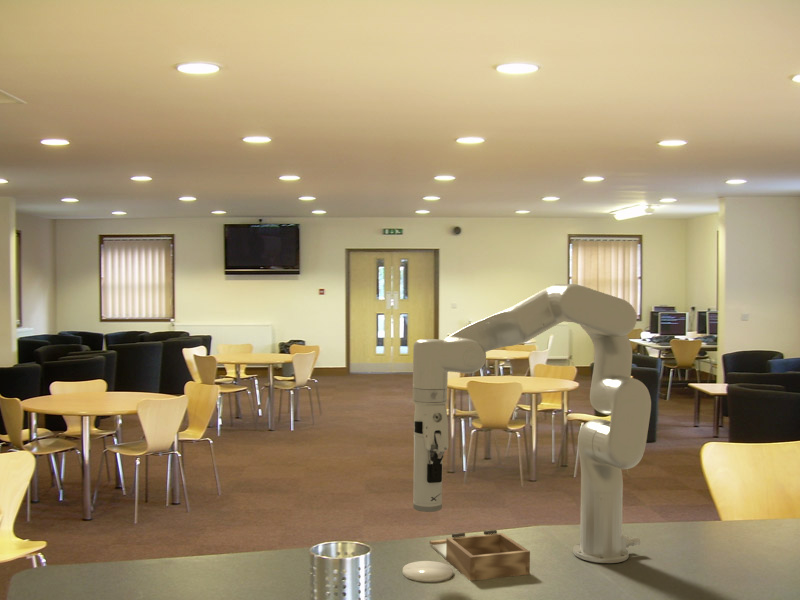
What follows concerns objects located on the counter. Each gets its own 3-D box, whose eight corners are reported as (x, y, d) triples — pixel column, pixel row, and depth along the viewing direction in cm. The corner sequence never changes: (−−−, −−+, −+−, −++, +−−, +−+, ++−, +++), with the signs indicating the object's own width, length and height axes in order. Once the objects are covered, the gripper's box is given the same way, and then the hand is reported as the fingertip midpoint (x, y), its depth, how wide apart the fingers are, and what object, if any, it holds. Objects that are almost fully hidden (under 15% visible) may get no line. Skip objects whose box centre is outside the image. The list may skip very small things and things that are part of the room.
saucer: (442, 562, 186) (442, 559, 186) (460, 579, 176) (461, 575, 176) (396, 567, 183) (396, 563, 183) (412, 584, 172) (412, 580, 172)
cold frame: (482, 540, 203) (483, 516, 203) (529, 574, 179) (530, 547, 179) (429, 545, 199) (429, 521, 198) (470, 580, 175) (470, 553, 175)
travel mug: (441, 513, 175) (442, 419, 175) (410, 511, 177) (411, 418, 176) (445, 505, 181) (446, 415, 181) (416, 503, 183) (417, 413, 182)
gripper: (461, 401, 172) (459, 486, 172) (432, 390, 188) (431, 469, 188) (427, 402, 169) (426, 489, 170) (401, 391, 186) (399, 471, 186)
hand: (428, 477), depth 179 cm, fingers closed on travel mug, 6 cm apart
